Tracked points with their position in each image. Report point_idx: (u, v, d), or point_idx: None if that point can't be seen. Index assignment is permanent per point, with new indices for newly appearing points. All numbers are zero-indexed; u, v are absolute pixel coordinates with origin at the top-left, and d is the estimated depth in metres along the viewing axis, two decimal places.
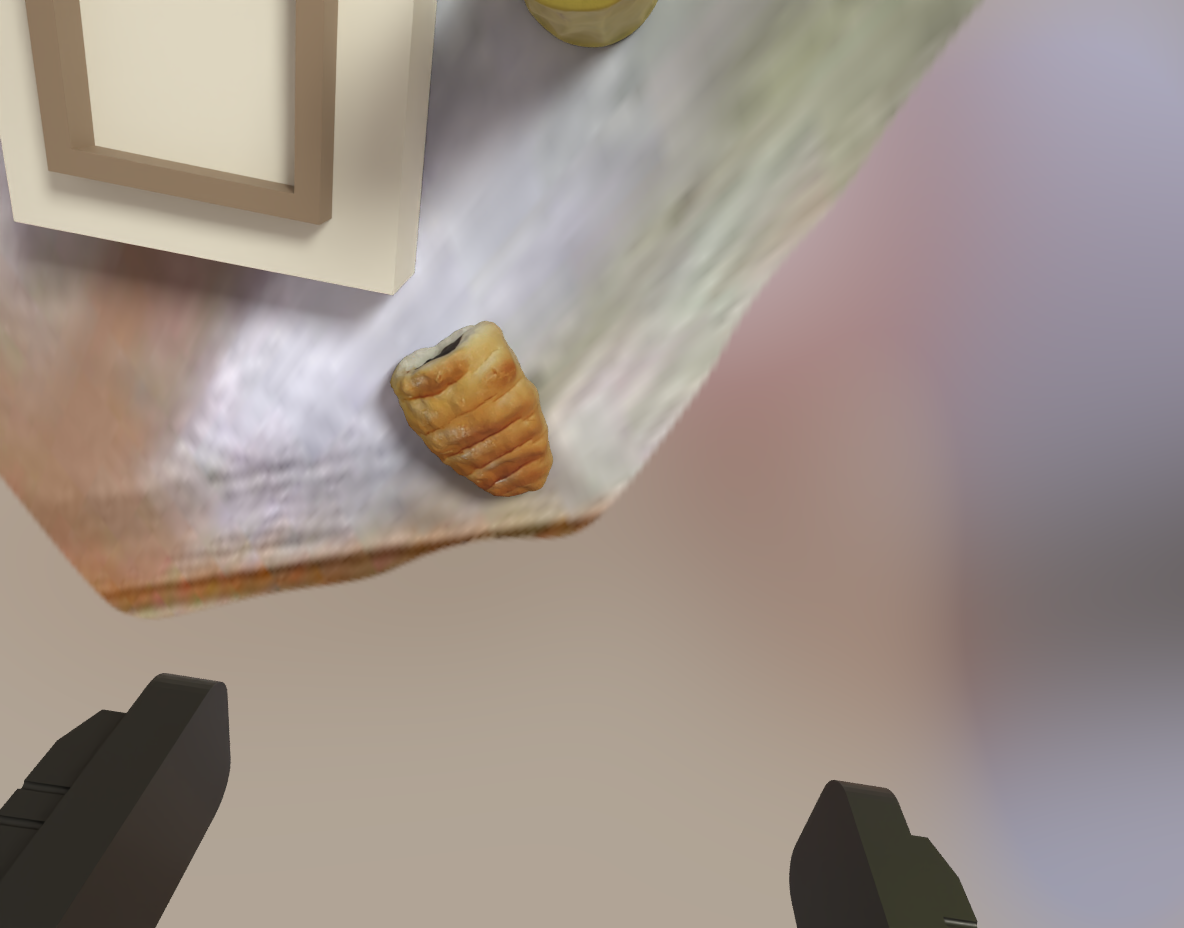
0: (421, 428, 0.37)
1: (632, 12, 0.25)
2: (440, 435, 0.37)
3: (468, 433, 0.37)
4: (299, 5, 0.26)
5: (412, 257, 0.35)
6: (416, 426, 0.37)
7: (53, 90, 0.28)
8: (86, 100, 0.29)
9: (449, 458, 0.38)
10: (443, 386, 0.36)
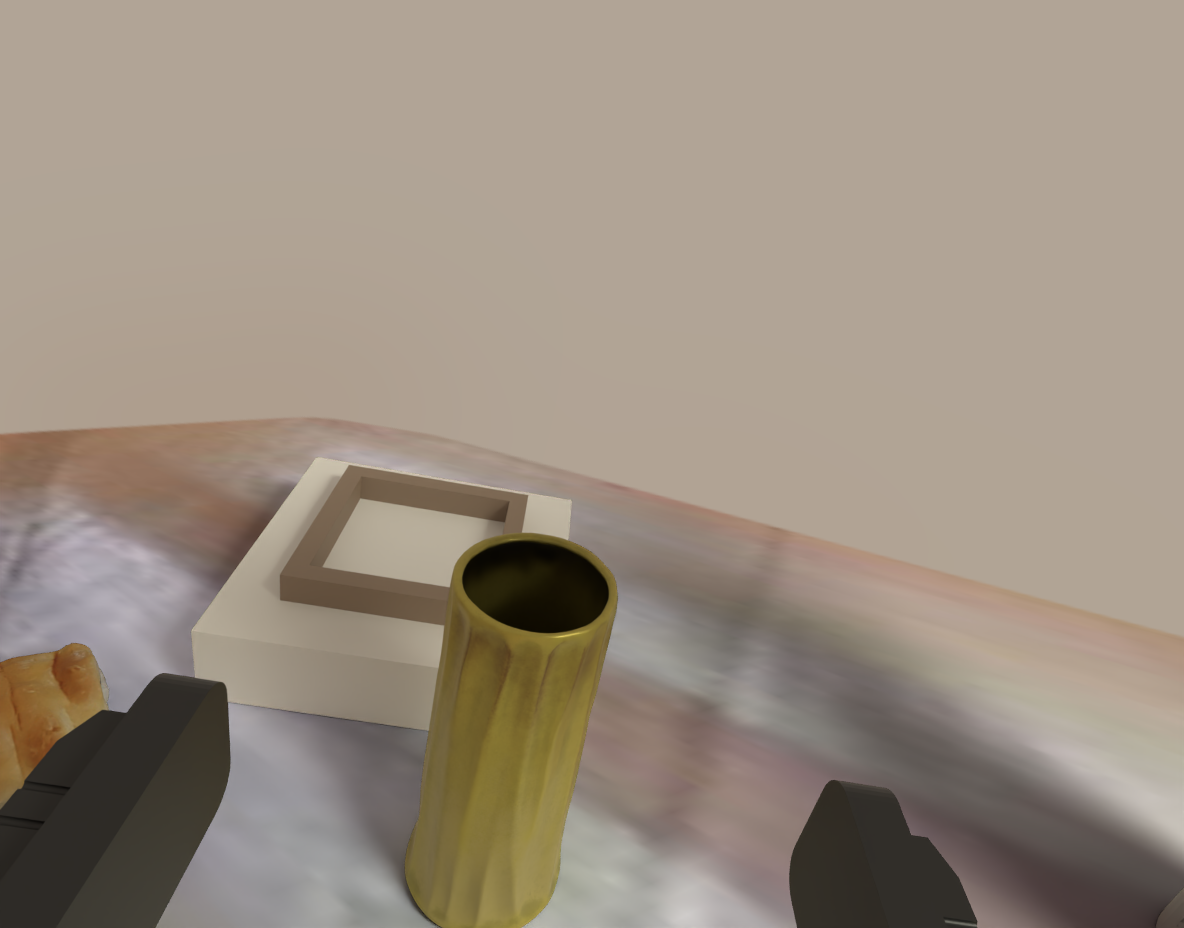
0: (9, 659, 0.31)
1: (443, 778, 0.25)
2: None
3: None
4: (446, 588, 0.36)
5: None
6: (13, 658, 0.31)
7: (397, 478, 0.43)
8: (389, 499, 0.43)
9: None
10: (61, 676, 0.30)
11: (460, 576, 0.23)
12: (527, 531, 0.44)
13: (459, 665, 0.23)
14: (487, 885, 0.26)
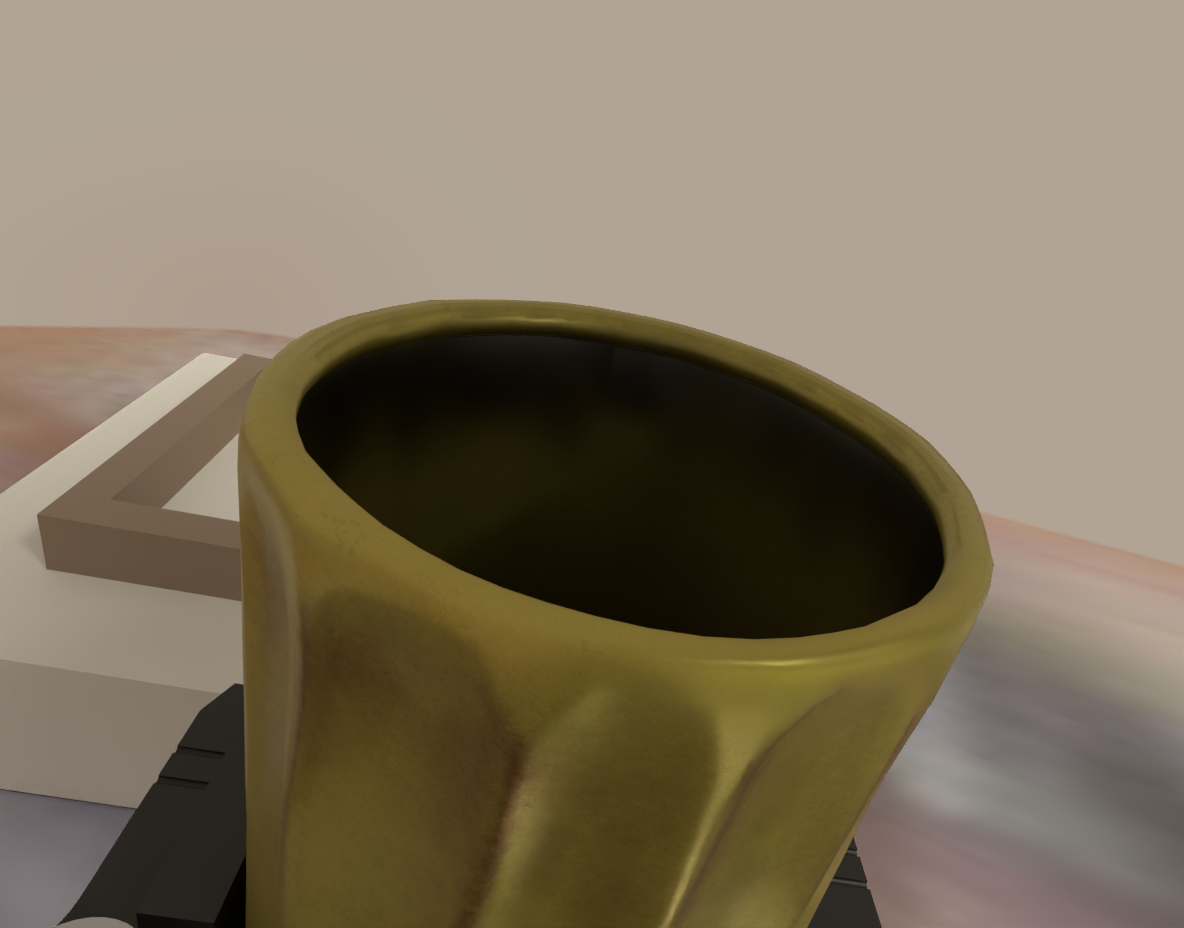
0: None
1: None
2: None
3: None
4: None
5: None
6: None
7: None
8: None
9: None
10: None
11: (294, 375, 0.05)
12: None
13: (282, 781, 0.05)
14: None
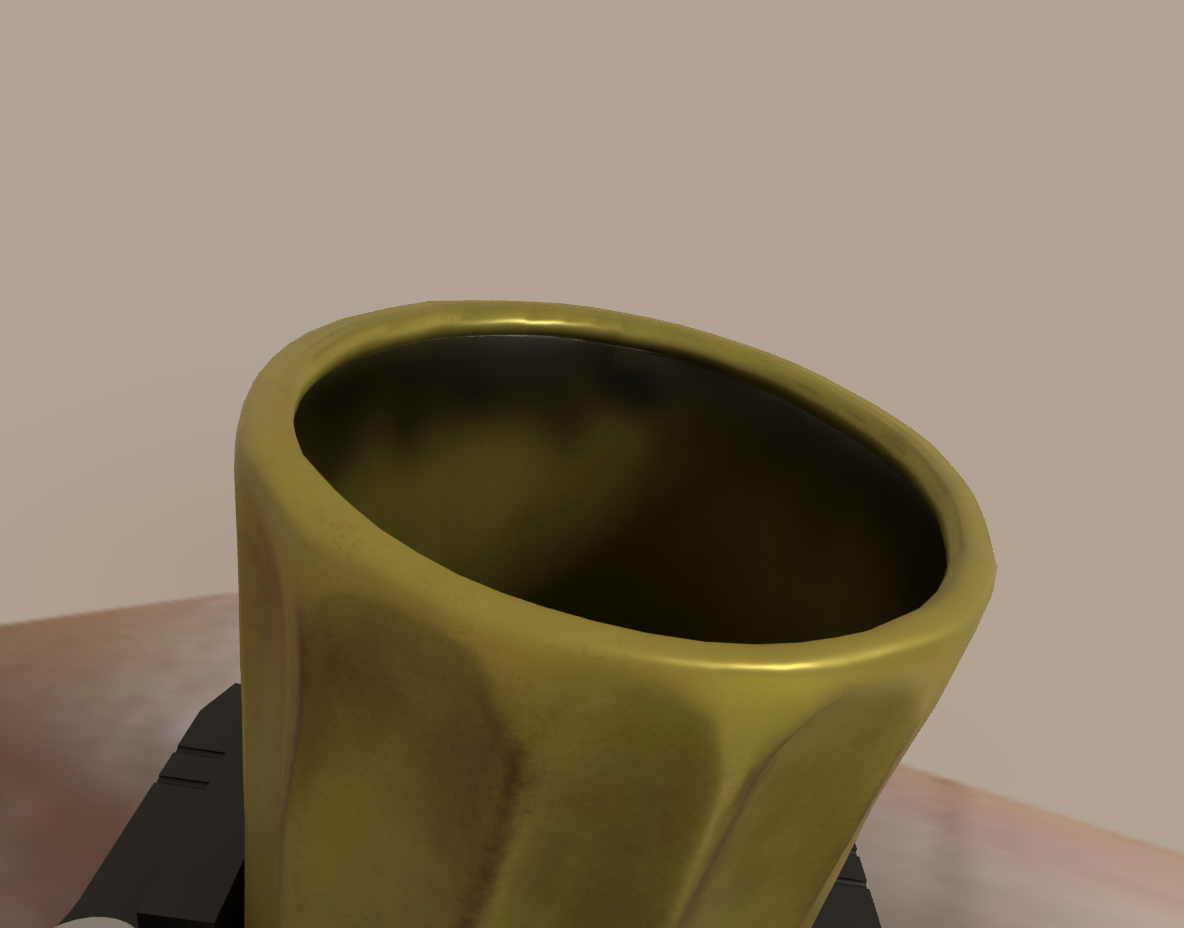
0: None
1: None
2: None
3: None
4: None
5: None
6: None
7: None
8: None
9: None
10: None
11: (292, 377, 0.05)
12: None
13: (282, 786, 0.05)
14: None
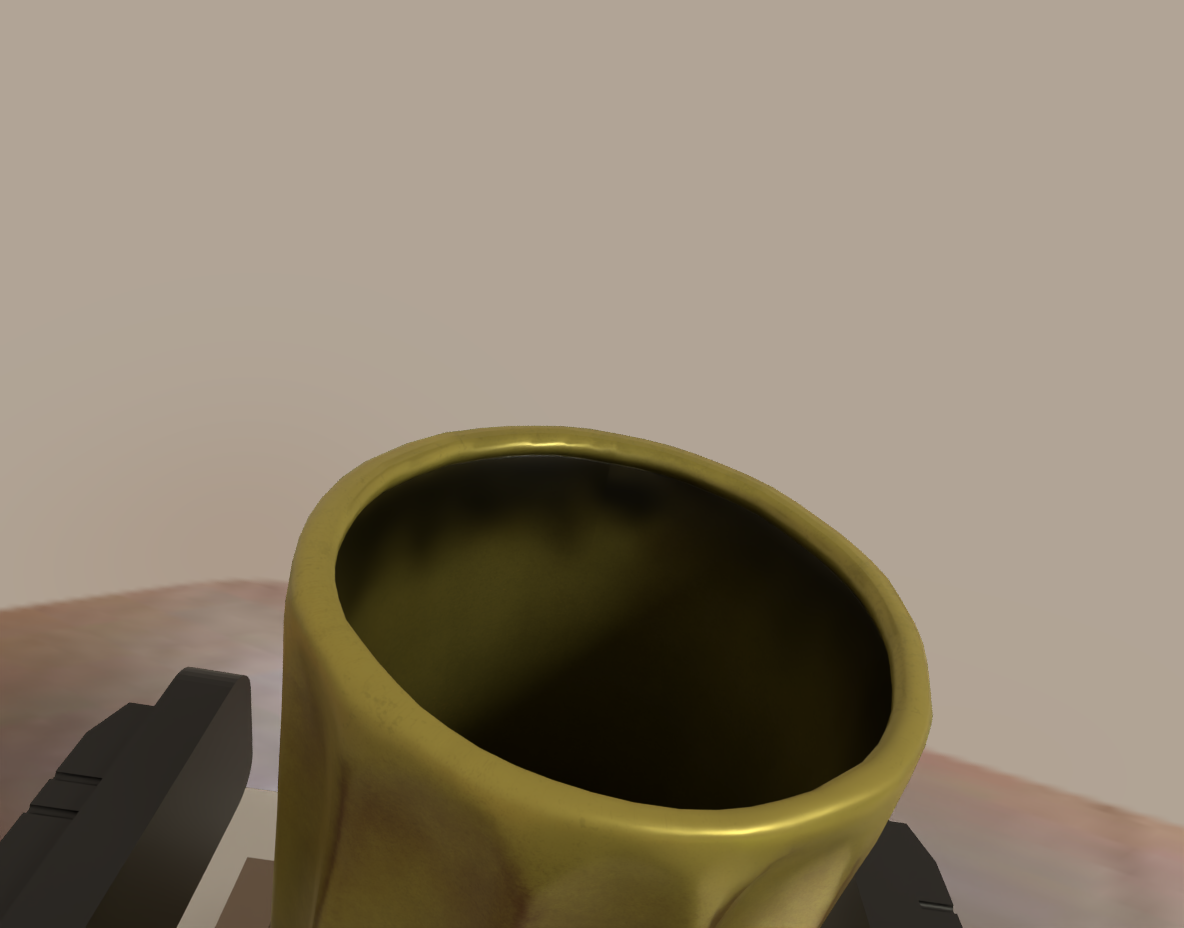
0: None
1: None
2: None
3: None
4: None
5: None
6: None
7: None
8: None
9: None
10: None
11: (332, 534, 0.06)
12: None
13: (312, 891, 0.06)
14: None
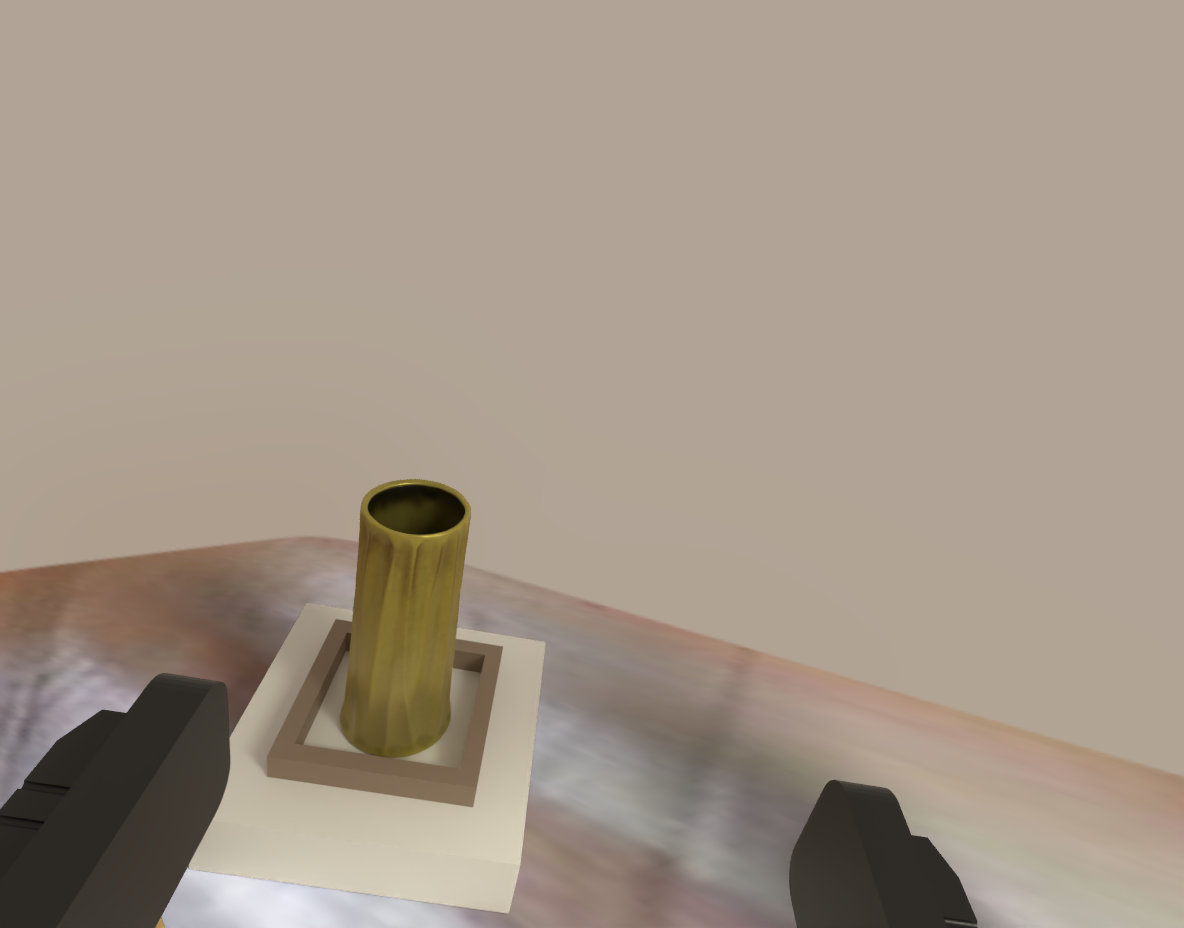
0: None
1: (359, 639, 0.38)
2: None
3: None
4: (420, 764, 0.39)
5: (207, 862, 0.37)
6: None
7: None
8: None
9: None
10: None
11: (366, 502, 0.36)
12: (501, 682, 0.47)
13: (365, 558, 0.36)
14: (390, 716, 0.39)
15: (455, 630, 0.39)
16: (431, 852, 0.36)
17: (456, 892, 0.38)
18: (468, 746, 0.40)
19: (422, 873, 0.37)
